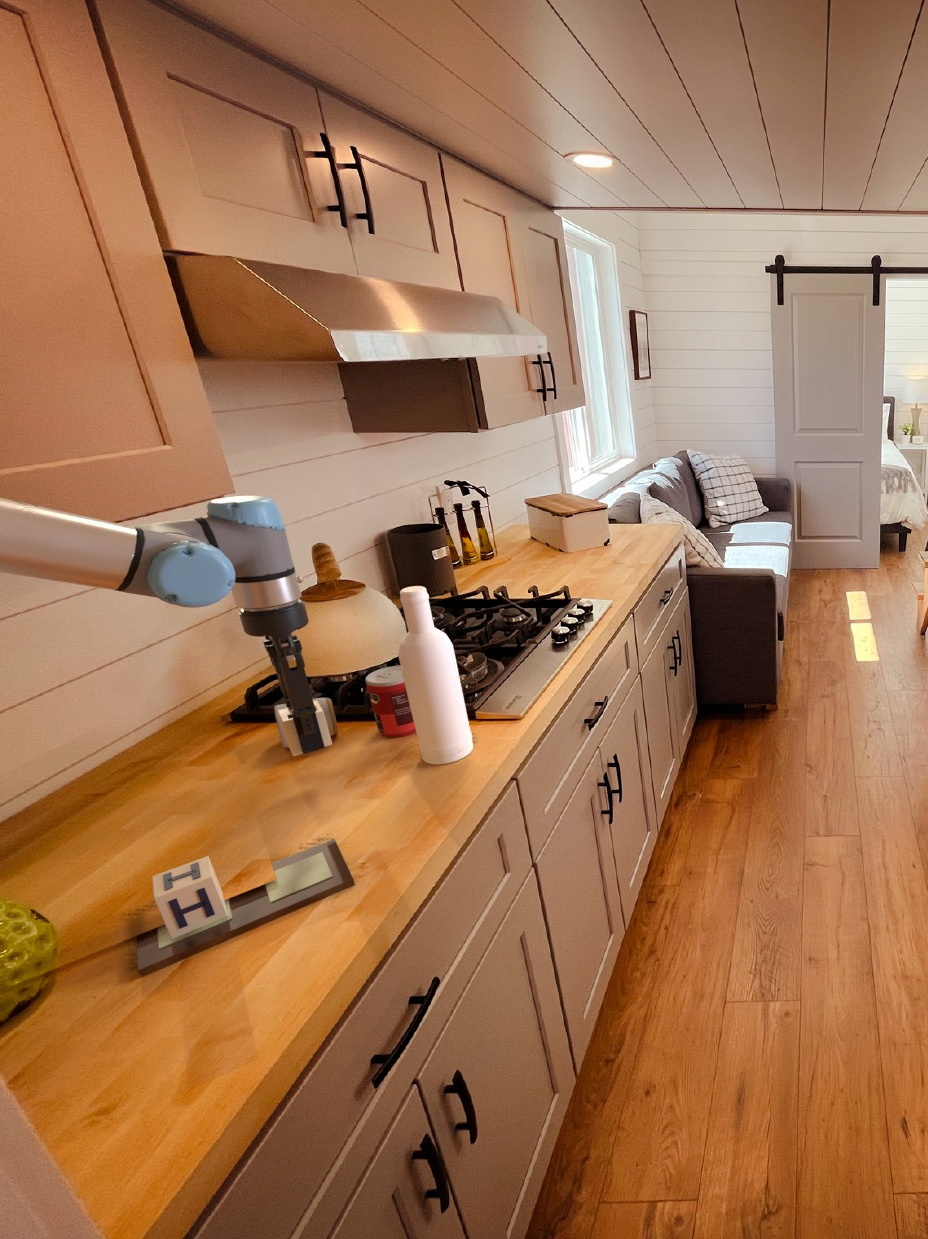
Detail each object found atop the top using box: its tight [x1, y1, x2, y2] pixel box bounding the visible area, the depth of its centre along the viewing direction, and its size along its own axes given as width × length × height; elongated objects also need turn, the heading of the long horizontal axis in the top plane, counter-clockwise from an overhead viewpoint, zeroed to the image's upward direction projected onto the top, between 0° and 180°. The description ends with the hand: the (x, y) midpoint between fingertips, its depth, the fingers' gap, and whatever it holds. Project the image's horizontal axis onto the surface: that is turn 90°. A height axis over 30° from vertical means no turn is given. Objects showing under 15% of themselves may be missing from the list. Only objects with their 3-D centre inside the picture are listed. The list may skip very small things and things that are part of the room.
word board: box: [135, 838, 356, 978], centre depth 84 cm, size 20×11×1 cm, turn 135°
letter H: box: [151, 855, 228, 939], centre depth 80 cm, size 5×5×6 cm
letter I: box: [278, 700, 333, 757], centre depth 105 cm, size 5×5×6 cm
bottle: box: [397, 585, 474, 766], centre depth 112 cm, size 8×8×30 cm
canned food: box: [365, 665, 416, 738], centre depth 123 cm, size 8×8×11 cm
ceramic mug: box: [274, 697, 339, 749], centre depth 120 cm, size 11×8×8 cm
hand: (310, 742), depth 106 cm, fingers closed on letter I, 5 cm apart
